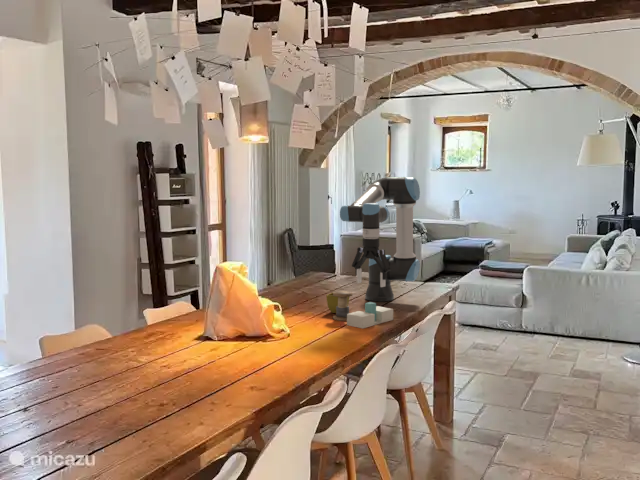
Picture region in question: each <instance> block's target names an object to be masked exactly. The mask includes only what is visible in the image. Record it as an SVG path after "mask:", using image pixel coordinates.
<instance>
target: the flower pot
mask: <svg viewBox="0 0 640 480" xmlns="http://www.w3.org/2000/svg"><path fill="white" fill-rule="evenodd" d="M349 301H350V297H347V306H349V305H350V304H349V303H350V302H349ZM326 304H327V306H328V307H327V308H328V309H329V311H330V312H331V314H336V306H338V297H336V296H333V292H331V293H328V294H326Z"/></svg>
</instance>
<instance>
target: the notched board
mask: <svg viewBox="0 0 640 480" xmlns="http://www.w3.org/2000/svg"><path fill="white" fill-rule="evenodd" d="M393 320H394V309H393V308H390V307H383V306H379V305H376V321H375V314H372V313H367V312H365V311H361V310H356V311H353V312H349V314H347V321H346V326H350V327H353V328H354V327H355V328H358V329H366V328H370V327H372V326H376V325H379V324H383V323H387V322H389V321H390V322H391V321H393Z"/></svg>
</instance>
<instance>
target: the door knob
mask: <svg viewBox="0 0 640 480" xmlns="http://www.w3.org/2000/svg"><path fill="white" fill-rule="evenodd" d="M332 293H333V296H336V297H338V306H336V313H335V315H333V316H332V319H333V320H334V321H340V322H347V314H349V313H350V306H349V305H348V306H347V297H349V298H350V297H353V292H352V291H346V290H338V291H334V292H332Z"/></svg>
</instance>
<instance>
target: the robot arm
mask: <svg viewBox="0 0 640 480" xmlns="http://www.w3.org/2000/svg"><path fill="white" fill-rule="evenodd" d="M420 195H421V191H420V184H419V181H418V179H416V177H409V176H395V177H394V176H386V177H382V178H379V179H377V180H375V181H373V182H371V184H369V185H368V187H367V188H366V191H365V192H363V193H362V194H361V195H360V196H359V197H358V198H357V199H355V201H353V202H352V203H351V204H350V205H342V206H341V207H340V210H339V218H340V220H341V221H342V222H348V223H353V222H354V223H362V246H360V247H357V249H356V250H357V251H356V254H355V256H354V259H353V261H352V264H351V267H352V268H354V269H355V276H356V284H361V283H362V281H363V280H362V273H363V270H362V269H363V268H362V266H363V264H364V263H365V262H366V260H368V285H367V288H366V291H365V298H364V299H365V300H367V301H369V302H391V301H393V300H394V299H395V298H394V297H395V295H394V293H393V288H392V285H391V284H392V281H395V282H396V281H397V282H407V283H408V282H415V281H416V280H417V278H418V275H419V272H420V267H421V263H420V260H419V259H417V255H416V253H414V206H415V205H416V204H417V201H419V199H420V197H421V196H420ZM382 200H385V201H386V200H387V201H388V200H389V201H390V200H391V201H393V202H392V203H393V205H394V206H395V212H396V213H395V214H396V216H395V217H396V219H395V220H396V222H395V223H396V224H395V225H396V227H395V228H396V229H395V230H396V232H395V233H396V234H395V235H396V238H395V239H396V243H395V247H396V252H395V253H394V255H393V257H392V255H390V254H386V250H385V249H379V248H380V236H381V235H380V223H381V224H382V223H384V222H386V221H387V220H388V219H389V217H390V211H389V209H388V208H387V207H386V206H384V205H380V204H379V203H377V202H382Z"/></svg>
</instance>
